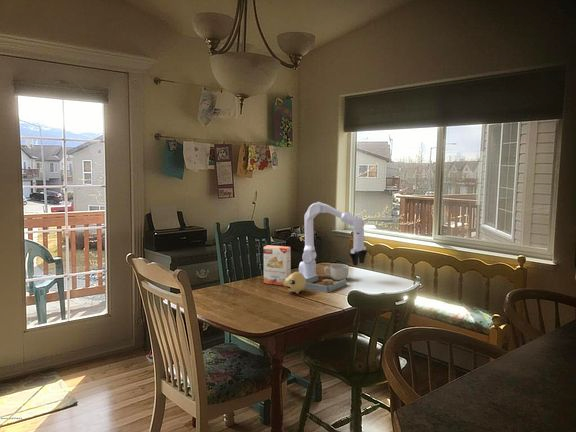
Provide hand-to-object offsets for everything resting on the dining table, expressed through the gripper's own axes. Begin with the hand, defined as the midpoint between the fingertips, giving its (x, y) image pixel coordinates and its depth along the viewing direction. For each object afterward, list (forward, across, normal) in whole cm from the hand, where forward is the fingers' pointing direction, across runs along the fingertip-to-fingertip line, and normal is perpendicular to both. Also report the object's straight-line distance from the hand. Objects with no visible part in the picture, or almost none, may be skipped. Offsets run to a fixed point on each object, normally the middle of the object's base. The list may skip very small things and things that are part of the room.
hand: (358, 264), depth 257 cm
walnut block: (+10, -26, +4) cm, 28 cm away
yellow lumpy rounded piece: (+10, -41, +15) cm, 45 cm away
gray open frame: (+9, -21, +10) cm, 25 cm away
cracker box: (+10, -32, +33) cm, 47 cm away
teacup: (+10, -4, +12) cm, 16 cm away
